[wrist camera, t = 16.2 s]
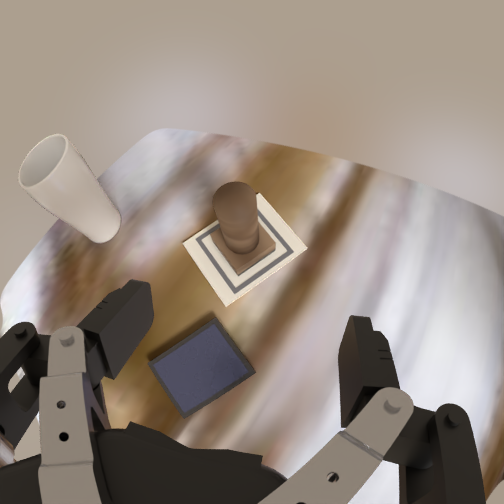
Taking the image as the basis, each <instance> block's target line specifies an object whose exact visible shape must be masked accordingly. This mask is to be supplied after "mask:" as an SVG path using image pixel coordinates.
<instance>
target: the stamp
mask: <svg viewBox="0 0 504 504" xmlns="http://www.w3.org/2000/svg"><path fill="white" fill-rule="evenodd" d="M213 207H214V210H215V213H216V216H217V219H218V222H219V225H220V228H218V229H217V230H215V231H214V232H212V233H211V234H210V236H211V238H212V241H213V243H214V244H215V245H216V247H217V248H218V250H219V251H220V252H221V254H222V255H223V256H224V258H225V259H226V261H227V262H228V263H229V265H230V266H231V267H232V269H233V270H234V271H235V273H236V274H237V276H240V275H241V274H243V273H244V272H246V271H247V270H248V269H250V268H251V267H253V266H254V265H256V264H257V263H258V262H260V261H261V260H263V259H264V258H266V257H267V256H268V255H270V254H271V253H273V252H274V251H275V249H276V242H275V241H274V240H273V239H272V238H271V236H270V235H269V234H268V233H267V231H266V230H265V229H264V228H263V227H262V225H261V224H260V223H259V222H258V211H257V197H256V193H255V191H254V190H253V189H252V188H251V187H250V186H249V185H247V184H245V183H242V182H230V183H227V184H224V185H223V186H221V187H220V188H219V189H218V190H217V191H216V192H215V194H214V197H213Z"/></svg>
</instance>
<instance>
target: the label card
mask: <svg viewBox="0 0 504 504" xmlns="http://www.w3.org/2000/svg"><path fill="white" fill-rule="evenodd" d="M256 197H257V211H258V222H259V223H260V224H261V225H262V227H263V228H264V229H265V230H266V231H267V233H268V234H269V235H270V236H271V238H272V239H273V240H274V241H275V242H276V249H275V251H274V252H273V253H271V254H270V255H268V256H267V257H266V258H264V259H263V260H261V261H260V262H258V263H257V264H256V265H254V266H253V267H251V268H250V269H248V270H247V271H246V272H244V273H243V274H241V275H240V276H237V274H236V273H235V271H234V270H233V269H232V267H231V266H230V265H229V263H228V262H227V261H226V259H225V258H224V256H223V255H222V254H221V252H220V251H219V250H218V248H217V247H216V245H215V244H214V243H213V241H212V238H211V236H210V234H211V233H212V232H214V231H215V230H217V229H218V228H220V225H219V222H218V220H217V221H215V222H214V223H212V224H211V225H209V226H208V227H206V228H205V229H203V230H202V231H200V232H199V233H197V234H196V235H194V236H193V237H191V238H190V239H188V240H187V241H185V242H184V243H183V245H184V246H185V248H186V249H187V251H188V252H189V254H190V255H191V257H192V258H193V260H194V261H195V263H196V264H197V266H198V267H199V269H200V270H201V272H202V273H203V274H204V276H205V277H206V279H207V280H208V282H209V283H210V285H211V286H212V288H213V289H214V290H215V292H216V293H217V295H218V296H219V298H220V299H221V300H222V302H223V303H224V305H225V306H226V307H227V306H228V305H229V304H231V303H232V302H234V301H235V300H237V299H238V298H239V297H241V296H242V295H244V294H245V293H247V292H248V291H249V290H251V289H252V288H254V287H255V286H256V285H258V284H259V283H261V282H262V281H263V280H265V279H266V278H268V277H269V276H270V275H272V274H273V273H275V272H276V271H277V270H279V269H280V268H281V267H283V266H284V265H286V264H287V263H288V262H290V261H291V260H293V259H294V258H295V257H297V256H298V255H299V254H301V253H302V252H303V251H305V250H306V249H307V247H306V246H305V245H304V243H303V242H302V241H301V240H300V239H299V237H298V236H297V235H296V234H295V233H294V232H293V231H292V229H291V228H290V227H289V226H288V225H287V224H286V222H285V221H284V220H283V219H282V218H281V217H280V216H279V214H278V213H277V212H276V211H275V210H274V209H273V208H272V206H271V205H270V204H269V203H268V202H267V201H266V200H265V199H264V197H263V196H262V195H261V194H260V193H258V194H257V195H256Z"/></svg>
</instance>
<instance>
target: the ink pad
mask: <svg viewBox="0 0 504 504" xmlns="http://www.w3.org/2000/svg"><path fill="white" fill-rule="evenodd" d="M148 365H149V367H150V368H151V370H152V371H153V373H154V375H155V376H156V378H157V379H158V381H159V383H160V384H161V386H162V387H163V389H164V390H165V392H166V393H167V395H168V396H169V398H170V399H171V401H172V402H173V404H174V405H175V407H176V408H177V410H178V411H179V413H180V414H181V415H182V417H183V418H186V417H188V416H189V415H191V414H193V413H194V412H196V411H198V410H199V409H201V408H203V407H204V406H206V405H207V404H209V403H211V402H212V401H214V400H215V399H217V398H219V397H220V396H222V395H223V394H225V393H226V392H228V391H229V390H231V389H232V388H234V387H235V386H237V385H238V384H240V383H241V382H243V381H244V380H246V379H247V378H249V377H250V376H252V375H253V374H255V373H256V372H255V370H254V369H253V368H252V366H251V365H250V364H249V362H248V361H247V360H246V358H245V357H244V355H243V354H242V353H241V351H240V350H239V349H238V347H237V346H236V344H235V343H234V342H233V340H232V339H231V338H230V336H229V335H228V333H227V332H226V330H225V329H224V328H223V326H222V325H221V323H220V322H219V321H218V319H217V318H216V317H215V318H214V319H213V320H211V321H210V322H208V323H207V324H205V325H204V326H202V327H201V328H199V329H198V330H197V331H195V332H194V333H192V334H191V335H189V336H188V337H186V338H185V339H183V340H182V341H180V342H179V343H177V344H176V345H174V346H173V347H171V348H170V349H168V350H167V351H165V352H164V353H162V354H161V355H159V356H158V357H156V358H155V359H153V360H152V361H150V362H149V363H148Z"/></svg>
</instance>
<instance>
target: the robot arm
mask: <svg viewBox="0 0 504 504" xmlns="http://www.w3.org/2000/svg"><path fill="white" fill-rule="evenodd" d="M153 318H154V311H153V304H152V295H151V287H150V284H149V283H148V282H143V281H138V280H133V279H131V280H130V281H129V282H128V283H127V284H126V285H125V286H124V287H123V288H122V289H120V288H119V289H117V290H115V291H113V292H111V293H109V294H108V295H107V296H106V297H105V298H104V299H103V300H102V302H100V303H99V304H98V305H97V306H96V308H94V309H93V310H92V311H91V312H90V313H89V314H88V315H87V316H86V317H85V318H84V319H83V320H82V321H81V322H80V323H79V324H78V325H77V326H76V327H74V326H66V327H62V328H60V329H58V330H56V331H55V332H54V333H53V334H52V336H51V335H41V334H38V333H37V331H36V328H35V326H34V325H33V324H32V323H30V322H21V323H18V324H16V325H14V326H12V327H11V328H10V329H9V330H8V331H7V332H6V333H5V334H4V335H3V336H2V337H1V338H0V504H347V503H348V502H349V501H350V500H351V499H352V498H353V496H354V495H355V494H356V493H357V492H358V491H359V489H360V488H361V487H362V486H363V485H364V483H365V482H366V481H367V480H368V479H369V477H370V476H371V475H372V474H373V472H374V471H375V470H376V468H377V467H378V466H379V464H380V463H381V462H382V460H385V461H388V462H392V463H396V464H399V504H486V501H485V493H484V486H483V480H482V474H481V468H480V463H479V458H478V453H477V448H476V444H475V440H474V436H473V431H472V428H471V424H470V420H469V417H468V415H467V413H466V412H465V410H464V409H462V408H461V407H460V406H458V405H455V404H450V403H448V404H444V405H442V406H440V407H439V408H438V409H437V411H436V412H434V411H430V410H426V409H422V408H419V407H416V406H414V405H413V402H412V399H411V398H410V396H409V395H408V394H407V393H405V392H404V391H402V390H400V386H399V382H398V377H397V373H396V369H395V365H394V362H393V360H392V359H393V358H392V354H391V352H390V351H391V350H390V347H389V343H388V340H387V339H386V338H385V336H384V335H383V334H382V333H381V331H373V327H372V323H371V319H370V317H363V316H354V315H351V316H350V317H349V320H348V323H347V326H346V329H345V332H344V335H343V339H342V342H341V345H340V348H339V354H338V366H339V383H340V406H341V428H346V429H345V430H344V431H340V432H338V433H337V434H336V435H335V436H334V437H333V438H332V439H331V440H330V441H329V442H328V443H327V444H326V445H325V446H324V447H323V448H322V449H321V450H320V451H319V452H318V453H317V454H316V455H315V456H314V457H313V458H312V459H311V460H310V461H308V462H307V463H306V464H305V465H304V466H303V467H302V468H301V469H300V470H298V471H297V472H296V473H295V474H294V475H293V476H292V477H290V478H289V479H287V478H286V477H284V476H283V475H282V474H280V473H279V472H277V471H276V470H274V469H272V468H270V467H268V466H265V465H263V464H261V462H262V457H263V456H261V455H255V454H249V453H243V452H238V451H233V450H228V449H191V448H188V447H186V446H184V445H182V444H180V443H179V442H177V441H175V440H173V439H172V438H170V437H168V436H166V435H165V434H163V433H161V432H159V431H156V430H153V429H150V428H147V427H145V426H142V425H139V424H136V423H133V422H131V421H130V423H129V424H128V426H127V428H126V429H111V426H110V423H109V420H108V415H107V410H106V405H105V399H104V393H103V387H102V383H101V379H102V378H103V377H104V376H105V377H108V378H111V379H113V380H114V379H115V378H116V376H117V375H118V373H119V372H120V371H121V369H122V368H123V366H124V365H125V363H126V362H127V360H128V359H129V357H130V356H131V355H132V353H133V352H134V350H135V349H136V347H137V346H138V344H139V343H140V342H141V340H142V339H143V337H144V336H145V334H146V333H147V332H148V330H149V329H150V327H151V325H152V323H153ZM20 367H22V369H23V371H24V373H25V375H24V376H23V378H22V379H21V380H20V382H19V383H18V384H17V385H16V387H15V388H14V389H13V391H12V392H11V393H10V392H9V390H8V383H9V381H10V379H11V378H12V377H13V375H14V374H15V373H16V372H17V371H18V369H19V368H20ZM38 412H39V423H40V444H41V454H38V455H35V456H32V457H30V458H27V459H23V460H20V461H17V462H16V460H15V459H14V450H15V448H16V446H17V445H18V443H19V441H20V440H21V438H22V437H23V435H24V433H25V432H26V430H27V429H28V427H29V425H30V424H31V422H32V421H33V419H34V418H35V416H36V415H37V413H38Z"/></svg>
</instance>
